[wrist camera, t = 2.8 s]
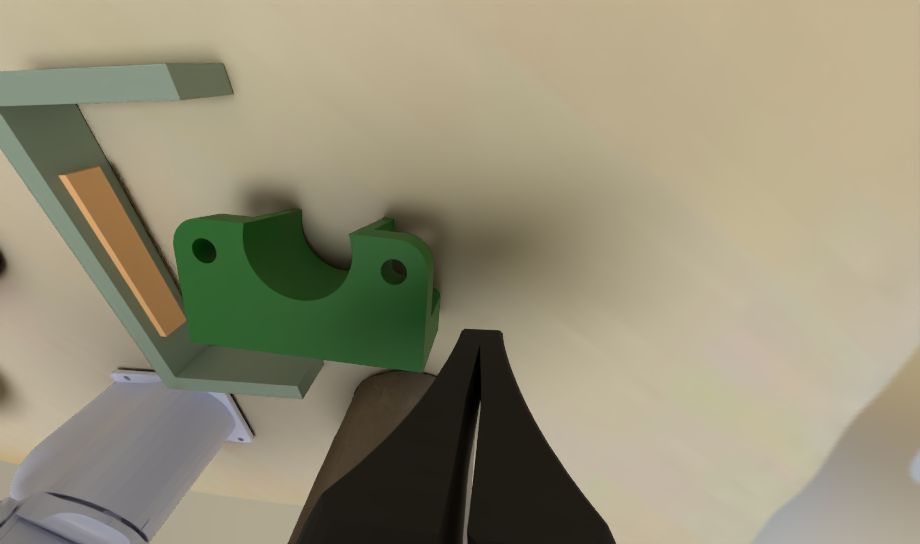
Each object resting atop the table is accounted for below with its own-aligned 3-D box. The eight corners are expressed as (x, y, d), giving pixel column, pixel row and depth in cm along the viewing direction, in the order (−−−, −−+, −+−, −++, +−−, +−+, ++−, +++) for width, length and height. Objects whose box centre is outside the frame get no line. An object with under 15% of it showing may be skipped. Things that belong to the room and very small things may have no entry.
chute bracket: (201, 356, 26) (167, 388, 23) (36, 72, 16) (-52, 74, 14) (323, 364, 25) (302, 399, 22) (223, 63, 15) (165, 63, 13)
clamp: (425, 210, 22) (472, 243, 14) (421, 295, 24) (460, 368, 16) (208, 201, 19) (100, 239, 10) (222, 302, 20) (139, 403, 12)
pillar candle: (337, 420, 28) (199, 721, 15) (379, 347, 23) (228, 702, 10) (442, 463, 30) (398, 766, 17) (503, 403, 25) (504, 768, 12)
